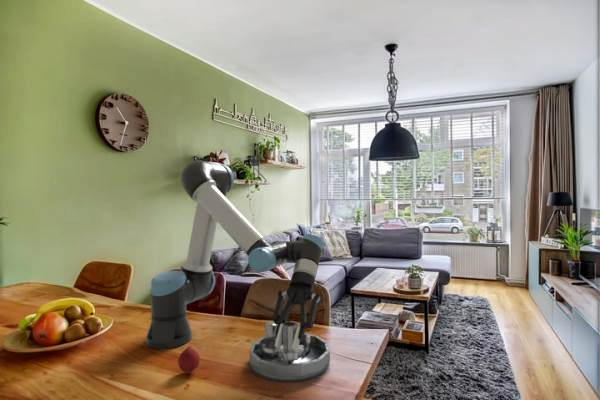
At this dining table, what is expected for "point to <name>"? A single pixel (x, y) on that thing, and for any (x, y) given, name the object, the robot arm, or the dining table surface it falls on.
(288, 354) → the planet gear
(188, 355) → the onion
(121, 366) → the dining table surface
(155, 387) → the dining table surface
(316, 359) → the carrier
